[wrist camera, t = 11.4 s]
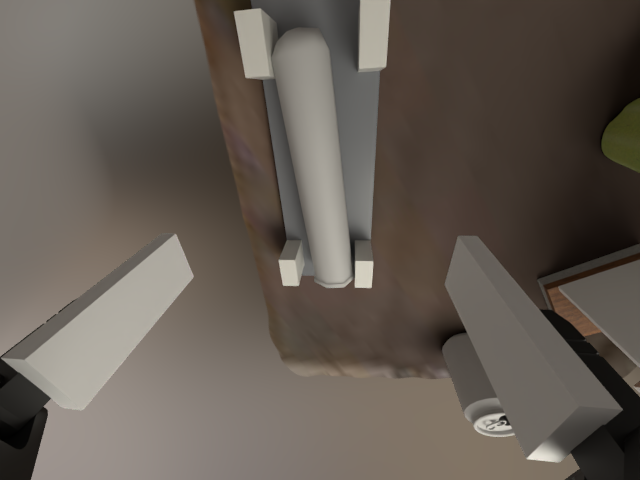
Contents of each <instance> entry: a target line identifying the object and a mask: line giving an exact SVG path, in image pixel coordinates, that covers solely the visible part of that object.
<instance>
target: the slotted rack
mask: <svg viewBox="0 0 640 480" xmlns="http://www.w3.org/2000/svg"><path fill="white" fill-rule="evenodd" d="M251 6H252V9H250V10H241V11H234V16H235V21H236V27H237V33H238V38H239V44H240V49H241V55H242V60H243V66H244V71H245V77H246V78H251V79H260V80H263V85H264V92H265V99H266V105H267V112H268V118H269V125H270V132H271V138H272V145H273V151H274V158H275V165H276V171H277V178H278V185H279V191H280V198H281V204H282V211H283V218H284V224H285V231H286V238H287V241H286V243H285V246H284V248H283V251H282V253H281V255H280V258H279V265H280V271H281V276H282V282H283V286H299V283H300V279H301V275H311V276H315V271H314V266H313V261H312V257H311V252H310V247H309V242H308V237H307V232H306V227H305V222H304V217H303V212H302V207H301V202H300V198H299V193H298V188H297V183H296V178H295V173H294V168H293V163H292V158H291V153H290V148H289V144H288V139H287V134H286V129H285V124H284V119H283V114H282V109H281V104H280V99H279V94H278V89H277V85H276V80H275V75H274V70H273V65H272V60H271V57H272V54H273V51H274V48H275V45H276V42H277V41H278V40H279V39H280V38H281V37H282V36H283V35H284V34H285V33H286V31H289V30H292V29H294V28H297V27H302V28H319V30H320V32H321V34H322V36H323V38H324V40H325V42H326V44H327V46H328V48H329V50H330V56H331V66H332V75H333V85H334V94H335V104H336V113H337V123H338V132H339V142H340V151H341V161H342V170H343V180H344V189H345V199H346V208H347V218H348V227H349V236H350V246H351V255H352V263H353V264H354V267H355V288H372V274H373V255H372V248H371V223H372V205H373V187H374V169H375V151H376V133H377V115H378V97H379V79H380V70H382V69H383V68H385V67H386V61H387V46H388V30H389V15H390V0H251Z"/></svg>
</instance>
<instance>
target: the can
mask: <svg viewBox="0 0 640 480" xmlns="http://www.w3.org/2000/svg"><path fill="white" fill-rule="evenodd" d="M442 352H443V356H444V358H445V361H446V364H447V367H448V370H449V373H450V376H451V378H452V381H453V384H454V387H455V390H456V392H457V395H458V398H459V401H460V404H461V407H462V410H463V412H464V415H465V417H466V418H467V419H468V420H469V421H470V422H472V423H473V426H474V429H475V430H476V431H478V432H479V433H481V434H484V435H488V436H496V437H501V436H511V435H515V434H514V432H513V430H512V427H511V425H510V423H509V421H508V419H507V417H506V415H505V412H504V410H503V408H502V406H501V404H500V402H499V400H498V398H497V395H496V393H495V391H494V389H493V387H492V385H491V383H490V380H489V378H488V376H487V374H486V372H485V370H484V368H483V365H482V363H481V361H480V359H479V357H478V355H477V353H476V351H475V348H474V346H473V344H472V342H471V340H470V338H469V336H468V333H461V334H457V335H454V336H452V337H451V338H449V339H448V340H447V342H446V343H445V344H444V346H443V348H442Z"/></svg>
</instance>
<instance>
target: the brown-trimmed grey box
mask: <svg viewBox="0 0 640 480" xmlns="http://www.w3.org/2000/svg"><path fill="white" fill-rule="evenodd" d="M537 281H538V283H539V286H540V288H541V291H542V293H543V296H544V298H545V301H546V304H547V306H548V309H549V310H553V311H554V312H556V313H557V314H559V315H560V316H561V317H563V318H564V319H566V320H567V321H569V322H570V323H571V324H572V325H573V326H574V327H575V328H576V329H577V330H578V331H579V332H580V333H581V334H582V335H583V336H587V335H591V334H595V333H599V332H603V333H604V334H605V335H606V336H607V337H608V338H609V339H610V340H611V341H612V342H613V343H614V344H615V345H616V346H617V347H618V348H619V349H620V350H622V351H623V352H624V353H625V354H626V355H627V356H628V357H629V358H630V359H631V360H632V361H633V362H634V363H635V364H636V365H637V366H638V367H639V368H640V244H637V245H634V246H632V247H629V248H626V249H623V250H620V251H617V252H614V253H611V254H609V255H606V256H603V257H600V258H597V259H594V260H591V261H589V262H586V263H583V264H580V265H577V266H574V267H571V268H568V269H566V270H563V271H560V272H557V273H554V274H551V275H548V276H546V277H543V278H540V279H537ZM634 388H635V389H636V390H637V391H638V392H640V381H639V382H638V383H636V384H635V385H634Z"/></svg>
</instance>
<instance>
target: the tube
mask: <svg viewBox="0 0 640 480" xmlns="http://www.w3.org/2000/svg"><path fill="white" fill-rule="evenodd" d="M271 60H272V65H273V70H274V75H275V80H276V85H277V89H278V94H279V99H280V104H281V109H282V114H283V119H284V124H285V129H286V134H287V139H288V144H289V148H290V153H291V158H292V163H293V168H294V173H295V178H296V183H297V188H298V193H299V198H300V202H301V207H302V212H303V217H304V222H305V227H306V232H307V237H308V242H309V247H310V252H311V257H312V261H313V266H314V271H315V277H314V281H315V282H316V283H318V284H320V285H322V286H324V287H326V288H341V287H345V286H346V285H347V284H348V283H349V282H351V281H352V280H353V279H354V278H355V267H354V264H353V263H352V255H351V246H350V236H349V227H348V218H347V208H346V199H345V189H344V180H343V170H342V161H341V151H340V142H339V132H338V123H337V113H336V104H335V94H334V85H333V75H332V66H331V56H330V50H329V48H328V46H327V44H326V42H325V40H324V38H323V36H322V34H321V32H320V30H319V28H302V27H297V28H294V29H292V30H289V31H286V33H285V34H284V35H283V36H282V37H281V38H280V39H279V40H278V41H277V42H276V45H275V48H274V51H273V54H272V57H271Z"/></svg>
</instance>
